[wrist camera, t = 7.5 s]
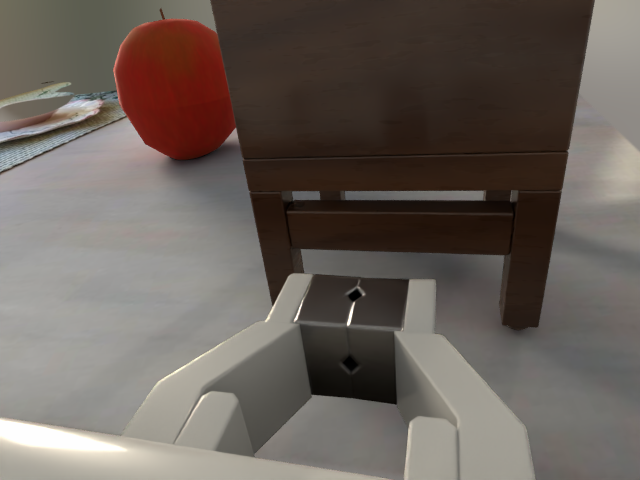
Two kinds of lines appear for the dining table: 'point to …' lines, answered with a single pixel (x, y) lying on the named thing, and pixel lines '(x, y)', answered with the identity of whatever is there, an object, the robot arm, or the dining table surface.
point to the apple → (175, 87)
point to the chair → (407, 127)
